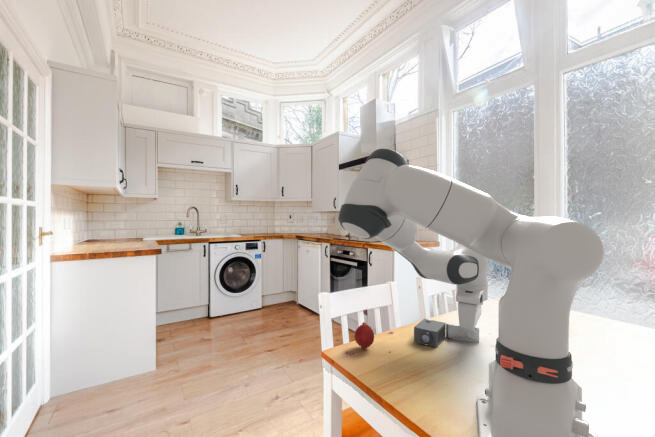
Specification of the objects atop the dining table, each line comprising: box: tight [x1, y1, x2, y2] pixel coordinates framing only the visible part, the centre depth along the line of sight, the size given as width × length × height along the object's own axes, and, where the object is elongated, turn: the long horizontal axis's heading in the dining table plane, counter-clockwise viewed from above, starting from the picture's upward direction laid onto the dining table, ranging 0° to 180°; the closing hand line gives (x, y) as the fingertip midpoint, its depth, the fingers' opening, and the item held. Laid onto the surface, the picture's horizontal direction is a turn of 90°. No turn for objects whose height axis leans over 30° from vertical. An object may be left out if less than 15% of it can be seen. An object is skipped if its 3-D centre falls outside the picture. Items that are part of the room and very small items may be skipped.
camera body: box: [413, 318, 447, 348], centre depth 94 cm, size 12×7×5 cm, turn 144°
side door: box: [445, 323, 480, 343], centre depth 94 cm, size 10×1×4 cm, turn 66°
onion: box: [354, 321, 375, 350], centre depth 87 cm, size 6×6×8 cm
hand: (471, 336), depth 91 cm, fingers closed
